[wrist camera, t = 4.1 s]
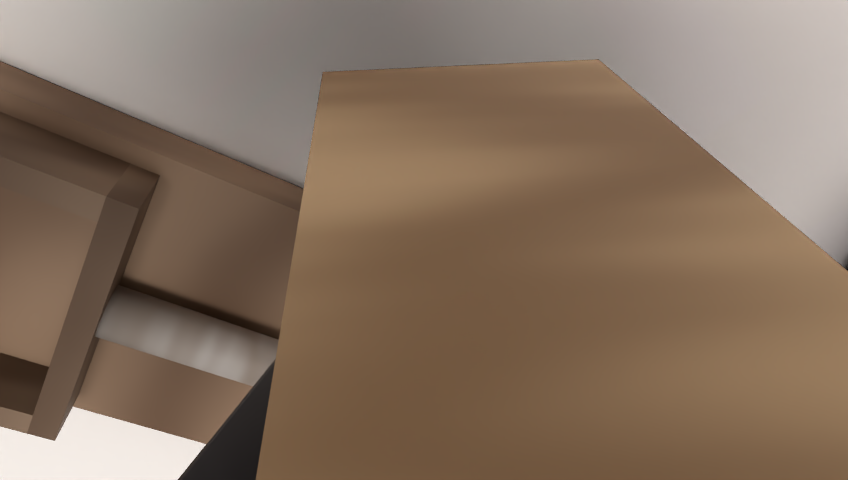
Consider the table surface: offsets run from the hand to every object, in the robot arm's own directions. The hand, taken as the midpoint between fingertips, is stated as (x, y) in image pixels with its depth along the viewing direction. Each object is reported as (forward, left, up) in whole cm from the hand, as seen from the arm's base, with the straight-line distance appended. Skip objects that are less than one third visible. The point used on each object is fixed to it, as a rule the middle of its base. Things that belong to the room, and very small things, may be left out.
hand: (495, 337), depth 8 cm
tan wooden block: (0, 0, -2) cm, 2 cm away
